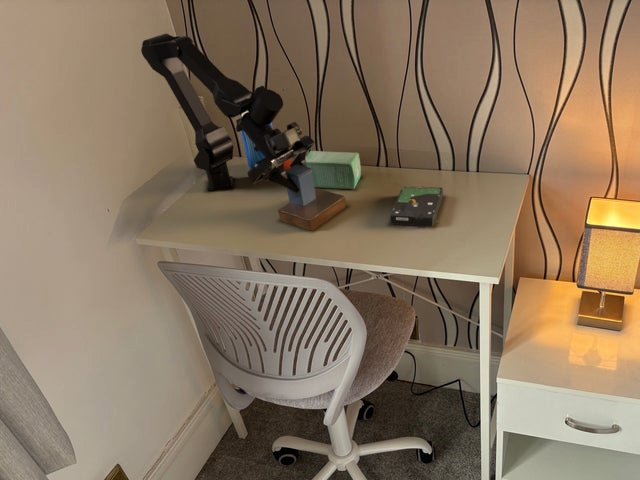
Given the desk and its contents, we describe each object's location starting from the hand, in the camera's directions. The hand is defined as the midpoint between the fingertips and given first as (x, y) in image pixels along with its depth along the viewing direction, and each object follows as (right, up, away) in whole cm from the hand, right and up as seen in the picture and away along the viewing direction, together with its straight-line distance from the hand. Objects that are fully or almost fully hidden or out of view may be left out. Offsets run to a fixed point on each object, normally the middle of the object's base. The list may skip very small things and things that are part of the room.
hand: (304, 187), depth 148 cm
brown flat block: (+2, -6, +3) cm, 7 cm away
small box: (-1, -3, +3) cm, 4 cm away
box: (+5, +4, +16) cm, 18 cm away
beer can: (-15, +9, +25) cm, 31 cm away
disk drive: (+27, -5, +2) cm, 28 cm away
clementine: (-5, +8, +22) cm, 24 cm away
